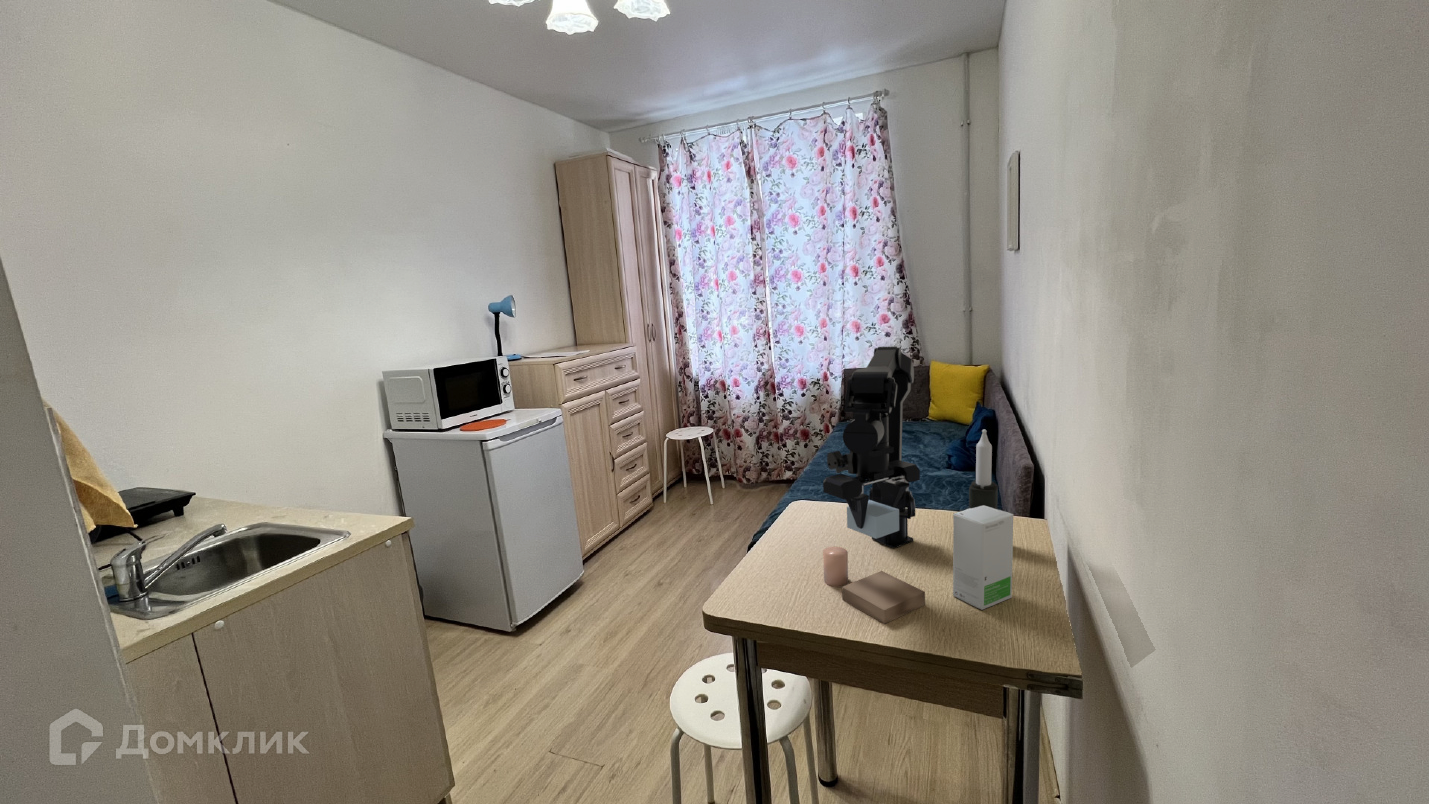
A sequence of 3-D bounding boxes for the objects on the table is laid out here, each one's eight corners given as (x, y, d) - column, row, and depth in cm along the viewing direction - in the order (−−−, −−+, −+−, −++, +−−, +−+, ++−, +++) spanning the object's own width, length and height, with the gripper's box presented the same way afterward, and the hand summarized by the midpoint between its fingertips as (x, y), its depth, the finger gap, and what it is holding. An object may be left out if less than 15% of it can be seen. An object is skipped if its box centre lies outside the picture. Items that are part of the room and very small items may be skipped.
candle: (997, 541, 125) (999, 427, 121) (994, 550, 121) (996, 433, 117) (971, 537, 128) (973, 425, 123) (967, 546, 124) (968, 431, 119)
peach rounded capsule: (836, 572, 116) (836, 544, 115) (853, 581, 112) (852, 552, 111) (819, 579, 114) (818, 550, 113) (835, 589, 110) (834, 559, 109)
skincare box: (981, 611, 99) (982, 524, 96) (949, 595, 105) (950, 513, 102) (1013, 597, 103) (1016, 513, 100) (981, 582, 109) (982, 502, 106)
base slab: (881, 583, 111) (881, 570, 110) (924, 604, 102) (924, 591, 102) (842, 599, 106) (842, 586, 106) (884, 624, 97) (884, 610, 97)
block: (869, 520, 112) (869, 499, 111) (899, 530, 106) (899, 509, 105) (847, 527, 109) (846, 506, 108) (876, 538, 103) (875, 517, 102)
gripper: (876, 426, 116) (877, 502, 119) (802, 441, 107) (805, 522, 110) (921, 435, 107) (921, 517, 109) (844, 452, 98) (846, 541, 100)
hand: (873, 523), depth 107 cm, fingers closed on block, 6 cm apart
